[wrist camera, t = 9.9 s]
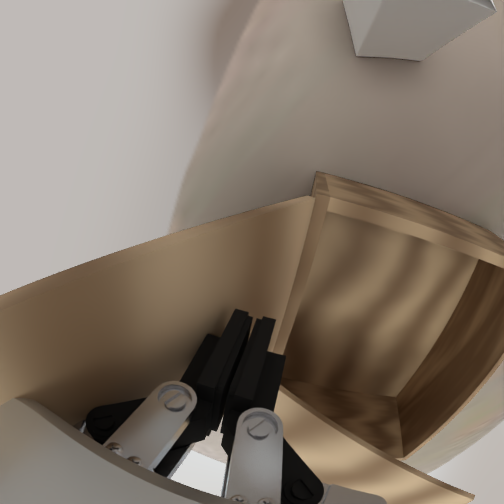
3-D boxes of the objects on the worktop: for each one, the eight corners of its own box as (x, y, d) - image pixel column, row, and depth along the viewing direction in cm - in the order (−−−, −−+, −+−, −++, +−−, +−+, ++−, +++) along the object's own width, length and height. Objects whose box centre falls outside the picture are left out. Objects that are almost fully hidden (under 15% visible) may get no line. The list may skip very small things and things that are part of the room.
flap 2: (475, 495, 8) (473, 499, 8) (386, 533, 14) (384, 537, 13) (265, 373, 20) (261, 376, 20) (241, 441, 26) (238, 444, 26)
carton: (490, 231, 23) (549, 278, 12) (397, 396, 34) (405, 460, 24) (316, 171, 25) (316, 193, 15) (262, 371, 37) (241, 440, 27)
